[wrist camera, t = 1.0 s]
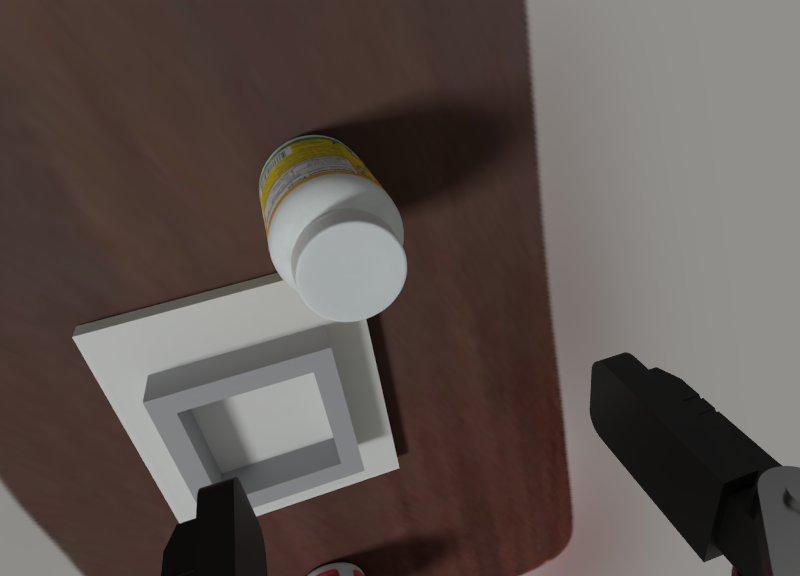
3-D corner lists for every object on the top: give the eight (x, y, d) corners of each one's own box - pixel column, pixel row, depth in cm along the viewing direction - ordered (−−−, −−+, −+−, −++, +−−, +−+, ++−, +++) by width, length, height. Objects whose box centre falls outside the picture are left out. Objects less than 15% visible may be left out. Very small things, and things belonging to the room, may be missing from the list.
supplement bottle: (248, 139, 25) (261, 212, 17) (362, 126, 26) (423, 188, 18) (268, 245, 28) (287, 351, 20) (371, 229, 29) (428, 323, 21)
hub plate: (76, 326, 27) (60, 363, 24) (349, 253, 29) (362, 280, 27) (189, 525, 35) (186, 570, 32) (395, 457, 37) (408, 493, 35)
